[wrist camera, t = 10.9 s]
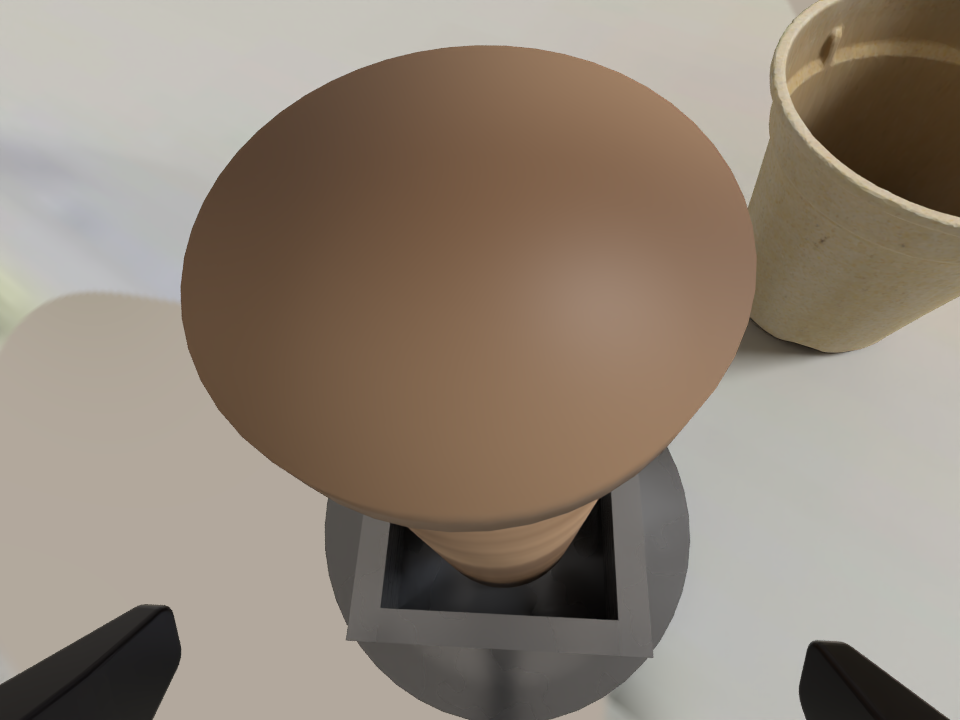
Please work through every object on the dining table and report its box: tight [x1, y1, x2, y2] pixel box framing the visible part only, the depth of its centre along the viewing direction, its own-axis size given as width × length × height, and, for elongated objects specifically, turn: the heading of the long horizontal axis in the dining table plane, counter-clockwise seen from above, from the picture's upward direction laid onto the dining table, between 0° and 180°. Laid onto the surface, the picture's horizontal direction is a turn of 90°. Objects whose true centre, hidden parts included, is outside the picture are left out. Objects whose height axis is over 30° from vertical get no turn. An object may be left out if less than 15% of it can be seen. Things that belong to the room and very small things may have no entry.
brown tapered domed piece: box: [181, 45, 757, 588], centre depth 11 cm, size 5×5×14 cm
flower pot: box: [748, 0, 960, 352], centre depth 17 cm, size 9×9×9 cm
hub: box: [325, 448, 690, 720], centre depth 17 cm, size 12×12×3 cm
